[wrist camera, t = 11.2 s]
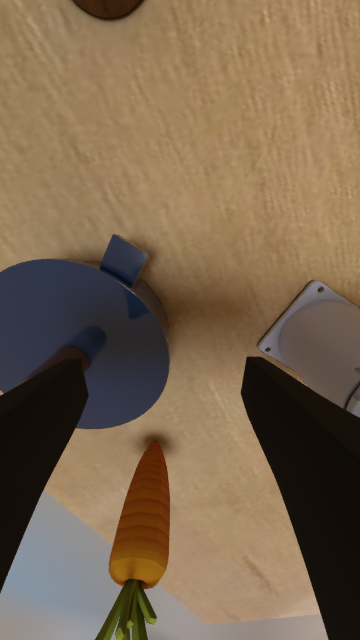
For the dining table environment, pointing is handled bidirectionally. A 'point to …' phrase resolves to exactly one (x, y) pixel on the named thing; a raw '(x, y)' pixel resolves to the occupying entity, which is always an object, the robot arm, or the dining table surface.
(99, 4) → the mortar and pestle
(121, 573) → the carrot
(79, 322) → the lid
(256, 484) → the dining table surface
